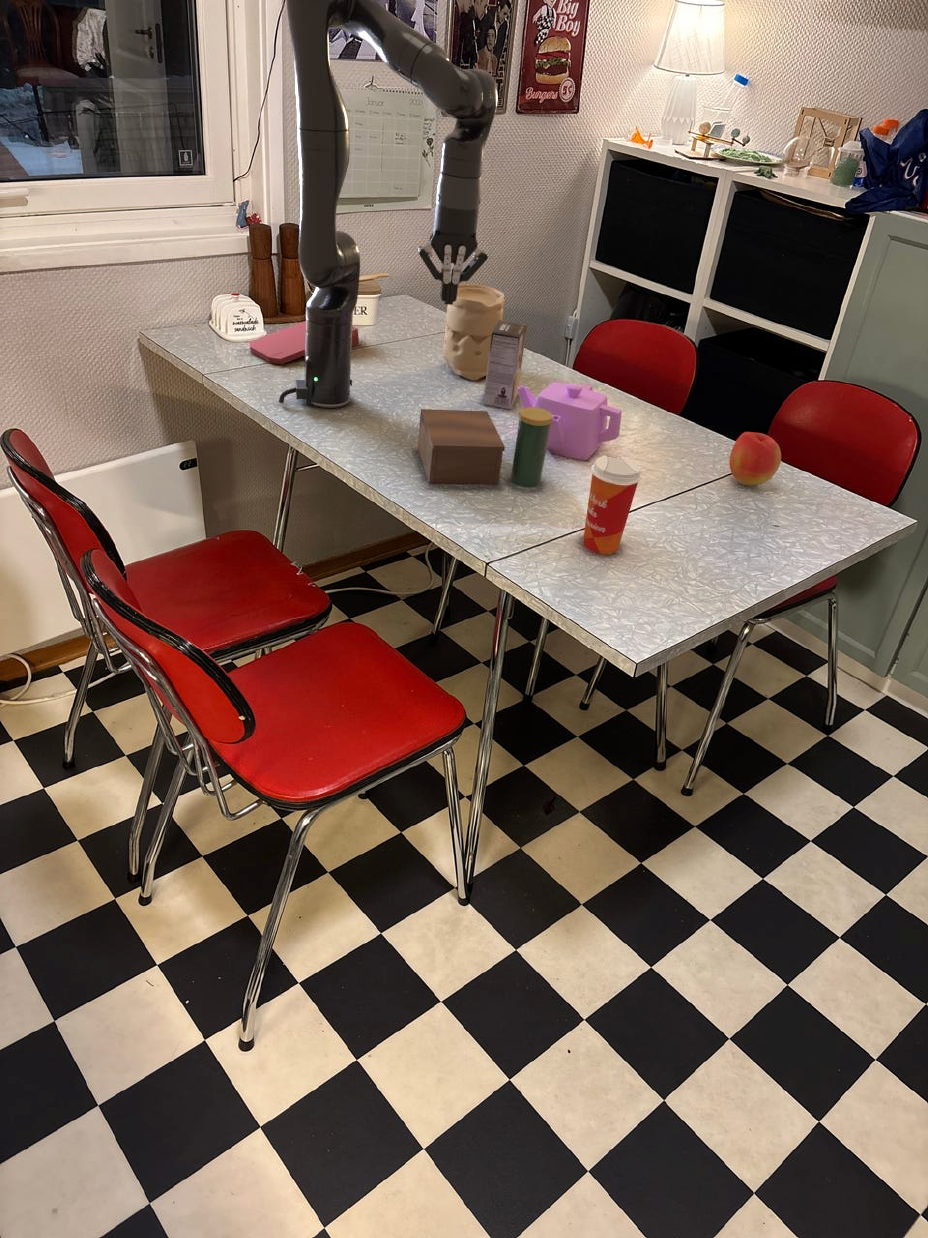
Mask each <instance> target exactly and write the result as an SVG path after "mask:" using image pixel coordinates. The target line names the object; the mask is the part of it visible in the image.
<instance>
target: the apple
mask: <svg viewBox="0 0 928 1238" xmlns="http://www.w3.org/2000/svg"><path fill="white" fill-rule="evenodd" d="M728 461H729V463H728V464H729V469H730V472H731V475H732V476H733V478H734V479H735V480H736V481H737V482H739V483H740V484H742V485H744V486H752V487H753V486H759V485H763V484H764V483H767V482H768V481H769V480H771V479H772V478H773V476H775V474H776V473H777V471H778V470H779V468H780V466H781V462H782V452H781V447H780V445H779V444H778V443H777V442H776V441H775V439H774V438H773V437H770V436H769V435H767V434H764V433H760V432H754V431H753V432H752V431H744V432H743V433H741V435H739V437H738V438H737V439H736V441H735V442H734V443H733V446H732V449H731V451H730V455H729V460H728Z"/></svg>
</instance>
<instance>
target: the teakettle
mask: <svg viewBox="0 0 928 1238" xmlns="http://www.w3.org/2000/svg"><path fill="white" fill-rule="evenodd" d="M593 387H594V386H593V385H590V384H585V383H582V384H578V383H564V382H559V381H553V382H552V383H550V384H549V385H547V386H546V387H544V389H542V390H541V392H539V393H538V394H537V396H536V398H535V396H534V395H533V393H532V392H531V390H530V389H529V387H528V386H521V385H520V386H518V388H517V391H518V393H517V395H518V396H519V399H520V403H521V405H522V409H523V408H527V407H536V408H541V409H545V410H547V411H549V412H550V413H551V414H552V416H553V417H552V422H551V424H550V429H549V435H548V441H547V447H546V449H547V450H548V451H549V453H550V454H554V455H558V456H561V457H566V458H569V459H572V460H573V459H574V460H579V461H587V460H588V459H589V458H590V457H592V455H593V454H595V452H596V451H597V450H598V449H599V447H600V446H601V445H602V443H607V442H610V441H611V442H612V441H615V440H617V438H618V437H619V436H620V430H621V422H622V421H621V419H622V412H623V410H622V409H619V408H617V407H613V406H610V405H609V404H608V396H607V395H606V394H604V393H600V392H597V391H595V390H593ZM608 417H609V420H608Z"/></svg>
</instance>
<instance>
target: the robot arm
mask: <svg viewBox="0 0 928 1238" xmlns="http://www.w3.org/2000/svg"><path fill="white" fill-rule="evenodd" d="M285 2H286V11H287V19H288V20H287V21H288V27H289V33H290V34H289V35H290V43H291V48H292V49H291V50H292V51H291V52H292V58H293V67H294V68H293V69H294V84H295V99H296V127H297V128H296V130H297V132H296V133H297V147H298V148H297V150H298V163H299V166H298V167H299V193H300V194H299V195H300V199H299V200H300V217H299V233H298V234H299V235H298V264H299V268H300V272H301V274H302V276H303V277H304V279H305V280H306V282H307V283H308V284H309V285H311V286H312V287H314V288H315V289H314V292H313V293H312V295H311V296H310V298H308V300H307V302H306V305H305V321H306V350H305V355H304V377H303V378H304V379H295V387H291V388H289V389H285V390H284V391H283V392H282V393H280V395H279V399H278V403H280V404H284V403H285V398H286V397H287V396H289V395H291V394H295V398H296V400H304V402H305V405H310V406H314V407H317V408H324V409H337V408H342V407H345V406H347V405H349V404H350V401H351V396H350V395H351V387H353V380H352V379H351V374H352V373H351V372H352V371H351V369H352V348H353V347H352V326H353V324H354V323H353V319H354V311H355V308H356V306H357V303H358V297H359V286H360V278H361V277H360V275H361V255H360V251H359V247H358V244H357V243H356V241H355V239H354V238H353V237H352V235H350V234H349V233H347V232H344V231H342V230H337V207H338V202H339V198H340V195H341V191H342V190H343V189H342V188H343V186H344V183H345V179H346V175H347V172H348V167H349V163H350V157H351V155H350V154H351V147H350V146H351V145H350V143H351V142H350V138H351V137H350V119H349V118H350V117H349V113H348V110H347V106H346V104H345V101H344V99H343V96H342V93H341V91H340V89H339V86H338V84H337V81H336V79H335V77H334V74H333V70H332V66H331V59H330V43H329V33H330V32H329V31H330V30H336V29H339V30H341V31H344V32H346V33H348V34H351V35H353V36H356V37H358V38H359V39H360V40H362V41H364V42H365V43H367V44H368V45H369V46H370V47H371V48H372V49H373V50H374V51H375V53H376V54H377V56H378V57H379V58H380V59H381V61H382V62H383V63H384V64H385V65H386V66H387V68H389V69H390V70H391V71H392V72H394V73H395V74H396V75H398V76H399V77H400V78H402V79H403V80H405V81H406V82H408V83H409V84H410V85H412V86H414V87H415V88H417V89H419V90H420V91H421V92H422V93H423V94H424V95H425V96H426V98H427V99H428V100H429V101H430V102H431V103H432V104H433V105H434V106H435V107H436V108H437V109H438V110H439V111H441V112H442V113H443V114H445V115H446V116H448V117H450V118H453V119H454V120H455V119H456V121H455V125H454V128H453V129H452V131H451V132H450V133H449V134H448V135H446V136H445V138H443V142H442V147H441V148H442V149H441V157H440V169H439V175H438V180H437V187H436V194H435V195H436V197H435V198H436V199H435V207H434V219H433V230H432V233H431V235H430V237H429V241H428V242H427V243H425V244H424V245H420V246H418V247H417V250H416V251H417V253H418V255H419V256H420V258H421V260H422V262H423V263H424V264H425V266H426V268H427V269H428V270H429V271H428V272H430V274H431V276H432V277H433V278H434V280H437V281H440V282H441V284H440V292H439V296H440V299H441V301H442V303H443V304H444V305H448V304H449V305H453V302H455V301H456V299H457V291H458V285H460V284H461V283H462V282H468V281H469V280H471V278H472V277H473V276H474V275H475V274H476V273H477V272H478V271H479V270H480V268H481V267H482V266H483V265H484V264H485V263H486V261H487V260H488V258H489V256H488V254H487V253H486V251H485V250H484V249H481V248H480V247H479V242H478V239H477V229H478V220H479V211H480V204H481V200H482V199H481V194H482V171H483V164H484V151H485V147H486V144H487V141H488V138H489V135H490V131H491V129H492V125H493V122H494V119H495V115H496V112H497V107H498V88H497V84H496V81H495V79H494V77H493V76H492V75H491V73H490V72H488V71H487V70H485V69H481V68H466V69H464V68H461V67H459V66H457V65H455V64H453V62H451V60H450V57H449V55H448V53H447V52H446V50H445V49H444V48H443V47H441V46H440V45H439V44H437V43H436V42H434V41H433V40H431V39H430V38H429V37H427V36H425V35H424V34H422V33H420V32H419V31H417V30H416V29H414V28H413V27H411V26H409V25H408V24H407V23H406V22H404V21H402V20H401V19H400V18H398V17H397V16H396V15H394V14H393V13H391V12H390V10H388V9H386V7H384V6H383V5H382V4H381V3H380V2H379V1H378V0H286V1H285ZM432 250H433V251H434V253H435V254H436V257H437V258H438V260H439V261H440V269H441V270H438V268H437V266H436V265H435V263H434V261H433V260H432V256H433V252H432ZM471 256H472V259H471V260H470V262H468V264H466V265H465V267H464V268H463V265H464V264H465V262H466V261H468V259H469V258H470V257H471Z"/></svg>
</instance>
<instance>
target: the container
mask: <svg viewBox="0 0 928 1238" xmlns="http://www.w3.org/2000/svg"><path fill="white" fill-rule="evenodd" d="M504 306H505V293H504V292H503V291H501V290H499V289H496V288H494V287H491V286H487V285H481V284H473V283H470V284H467V283H462V284H461V283H459V284H458V291H457V299H456V301H455V302H453V305H449V304H447V309H446V316H445V317H446V319H445V322H446V326H445V329H444V341H443V351H442V353H443V355H442V356H443V359H444V360H445V362H446V363H447V364H448V365H449V367H450V368H451V369H452V371H453V372H454V373H455V375H456V376H461V377H463V378H465V379H467V380H470V381H478V380H479V379H482V378H483V377H487V369H488V361H489V353H490V344H491V336H492V332H493V330H494V328H495V327H496V325H497V323H498V322H499V320H501V321H503V314H504Z"/></svg>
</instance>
